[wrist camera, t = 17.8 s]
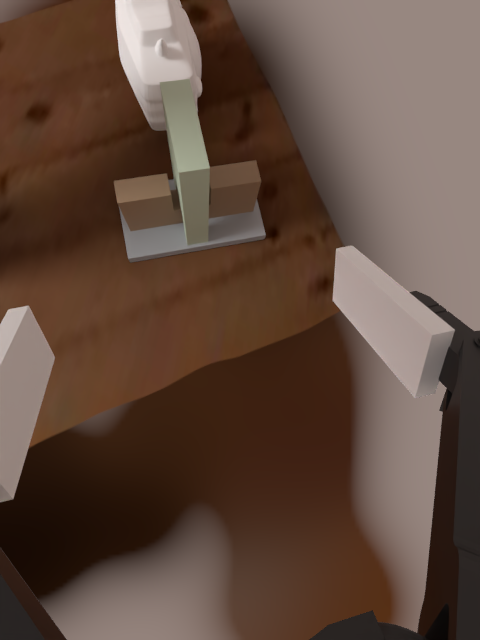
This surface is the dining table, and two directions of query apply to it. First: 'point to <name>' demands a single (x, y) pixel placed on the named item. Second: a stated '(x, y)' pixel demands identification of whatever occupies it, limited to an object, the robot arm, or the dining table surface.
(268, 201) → the dining table surface
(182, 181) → the green plank
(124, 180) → the brown grey slotted block
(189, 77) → the white ridged rounded piece
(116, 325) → the dining table surface
